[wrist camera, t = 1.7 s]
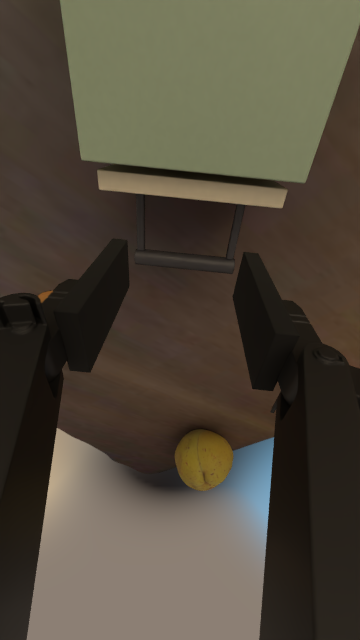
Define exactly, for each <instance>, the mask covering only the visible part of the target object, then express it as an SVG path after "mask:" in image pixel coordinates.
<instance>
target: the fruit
mask: <svg viewBox="0 0 360 640" xmlns="http://www.w3.org/2000/svg"><path fill="white" fill-rule="evenodd" d="M175 461H176V466H177V469H178V473H179V475H180V477H181V478H182V480H183V481H184V482H185V483H186V484H187V485H188V486H189V487H191V488H193V489H195V490H199V491H205V490H209V489H212V488H214V487H216V486H217V485H218V484H219V483H221V482H223V481H224V479H225V478H226V476H227V475H228V473H229V471H230V469H231V467H232V461H233V452H232V449H231V447H230V445H229V444H228V442H227V441H226V440H225V439H224V438H223V437H222V436H220V435H218V434H216V433H214V432H211V431H209V430H204V429H197V430H193V431H191V432H189V433H187V434H186V435H185V436H184V437H183V438H182V439H181V441H180V442H179V444H178V446H177V448H176V451H175Z"/></svg>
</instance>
